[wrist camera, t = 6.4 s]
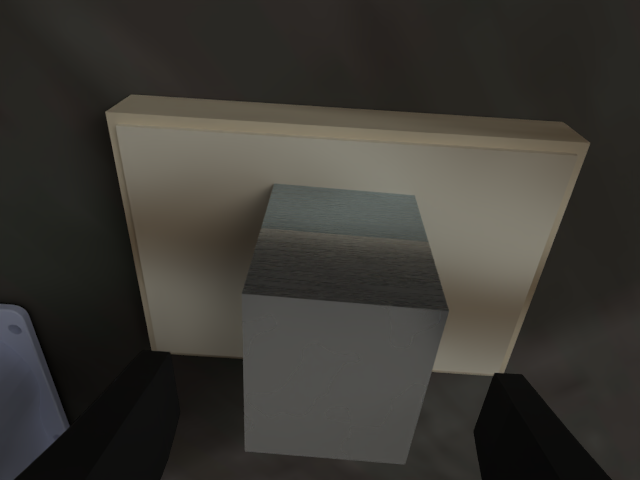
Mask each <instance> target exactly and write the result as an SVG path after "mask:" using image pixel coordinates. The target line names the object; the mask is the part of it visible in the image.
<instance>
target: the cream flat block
mask: <svg viewBox="0 0 640 480" xmlns="http://www.w3.org/2000/svg"><path fill="white" fill-rule="evenodd" d="M106 118H107V123H108V128H109V133H110V138H111V143H112V149H113V154H114V159H115V164H116V169H117V174H118V179H119V185H120V190H121V195H122V200H123V205H124V210H125V216H126V221H127V226H128V231H129V236H130V241H131V247H132V252H133V257H134V262H135V267H136V272H137V278H138V283H139V288H140V293H141V298H142V303H143V309H144V314H145V319H146V324H147V329H148V334H149V339H150V345H151V350H152V351H165V352H170V353H171V354H178V355H192V356H207V357H222V358H237V359H243V332H242V291H243V288H244V284H245V281H246V278H247V274H248V271H249V267H250V264H251V261H252V257H253V254H254V250H255V247H256V244H257V240H258V237H259V233H260V230H261V227H262V223H263V220H264V216H265V213H266V210H267V206H268V203H269V199H270V196H271V193H272V189H273V186H274V183H275V184H287V185H298V186H310V187H322V188H334V189H346V190H357V191H369V192H381V193H393V194H405V195H415V198H416V201H417V205H418V208H419V211H420V215H421V218H422V222H423V225H424V228H425V232H426V235H427V238H428V242H429V245H430V248H431V252H432V255H433V259H434V262H435V265H436V269H437V272H438V275H439V279H440V282H441V285H442V289H443V292H444V295H445V299H446V302H447V306H448V309H449V313H448V317H447V320H446V324H445V327H444V331H443V334H442V338H441V341H440V345H439V348H438V351H437V355H436V358H435V362H434V365H433V369H432V372H443V373H457V374H472V375H487V376H494V373H504V371H505V369H506V366H507V363H508V361H509V358H510V355H511V353H512V350H513V347H514V345H515V342H516V339H517V337H518V334H519V331H520V329H521V326H522V323H523V321H524V318H525V315H526V313H527V310H528V307H529V305H530V302H531V299H532V297H533V294H534V291H535V289H536V286H537V283H538V281H539V278H540V275H541V273H542V270H543V267H544V265H545V262H546V259H547V257H548V254H549V251H550V249H551V246H552V244H553V241H554V238H555V236H556V233H557V230H558V228H559V225H560V222H561V220H562V217H563V214H564V212H565V209H566V206H567V204H568V201H569V198H570V196H571V193H572V190H573V188H574V185H575V182H576V180H577V177H578V174H579V172H580V169H581V166H582V164H583V161H584V158H585V156H586V153H587V150H588V148H589V145H590V142H588V141H587V140H586V139H584V138H583V137H582V136H580V135H579V134H578V133H577V132H575V131H574V130H573V129H571V128H570V127H569V126H567V125H566V124H565V123H564V122H554V121H538V120H523V119H507V118H491V117H476V116H460V115H444V114H429V113H413V112H397V111H382V110H366V109H350V108H335V107H319V106H303V105H288V104H272V103H257V102H241V101H225V100H210V99H194V98H178V97H163V96H147V95H130V96H128V97H127V98H125V99H124V100H122V101H121V102H119V103H118V104H116V105H115V106H113V107H112V108H111V109H109V110H108V111H106Z"/></svg>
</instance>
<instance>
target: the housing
mask: <svg viewBox="0 0 640 480" xmlns="http://www.w3.org/2000/svg"><path fill="white" fill-rule="evenodd" d="M448 313H449V309H448V306H447V302H446V299H445V295H444V292H443V289H442V285H441V282H440V279H439V275H438V272H437V269H436V265H435V262H434V259H433V255H432V252H431V248H430V245H429V242H428V238H427V235H426V232H425V228H424V225H423V222H422V218H421V215H420V211H419V208H418V205H417V201H416V198H415V195H405V194H393V193H381V192H369V191H357V190H346V189H334V188H322V187H310V186H298V185H287V184H275V183H274V186H273V189H272V193H271V196H270V199H269V203H268V206H267V210H266V213H265V216H264V220H263V223H262V227H261V230H260V233H259V237H258V240H257V244H256V247H255V250H254V254H253V257H252V261H251V264H250V267H249V271H248V274H247V278H246V281H245V284H244V288H243V291H242V332H243V381H244V430H245V451H247V452H260V453H272V454H284V455H296V456H308V457H320V458H333V459H345V460H357V461H369V462H381V463H393V464H405V462H406V459H407V456H408V452H409V449H410V445H411V442H412V438H413V435H414V431H415V428H416V424H417V421H418V417H419V414H420V410H421V407H422V403H423V400H424V397H425V393H426V390H427V386H428V383H429V379H430V376H431V372H432V369H433V365H434V362H435V358H436V355H437V351H438V348H439V345H440V341H441V338H442V334H443V331H444V327H445V324H446V320H447V317H448Z"/></svg>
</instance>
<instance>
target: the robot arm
mask: <svg viewBox="0 0 640 480" xmlns="http://www.w3.org/2000/svg"><path fill="white" fill-rule="evenodd" d="M179 415H180V408H179V402H178V396H177V390H176V383H175V377H174V371H173V365H172V359H171V353H170V352H165V351H149V350H143V351H141V352H140V353H139V354H138V355H137V356H136V357H135V358H134V359H133V360H132V362H131V363H130V364H129V365H128V366H127V367H126V368H125V369H124V370H123V371H122V372H121V374H120V375H119V376H118V377H117V378H116V379H115V380H114V381H113V382H112V383H111V384H110V385H109V387H108V388H107V389H106V390H105V391H104V392H103V393H102V394H101V395H100V396H99V397H98V398H97V399H96V400H95V401H94V402H93V403H92V404H91V405H90V406H89V407H88V409H87V410H86V411H85V412H84V413H83V414H82V415H81V416H80V417H79V418H78V419H77V420H76V421H75V422H74V423H73V424H72V425H71V426H69V423H68V420H67V418H66V415H65V412H64V409H63V407H62V404H61V401H60V398H59V396H58V393H57V390H56V388H55V385H54V382H53V379H52V377H51V374H50V371H49V369H48V366H47V363H46V360H45V358H44V355H43V352H42V349H41V347H40V344H39V341H38V339H37V336H36V333H35V330H34V328H33V325H32V322H31V319H30V317H29V314H28V313H27V311H26V310H25V309H24V308H22V307H20V306H17V305H11V304H0V480H160V479H161V477H162V474H163V471H164V469H165V466H166V463H167V461H168V458H169V454H170V450H171V447H172V443H173V439H174V435H175V431H176V427H177V423H178V419H179ZM474 437H475V443H476V450H477V456H478V461H479V466H480V472H481V477H482V480H612V479H611V478H610V477H609V476H608V475H607V474H606V473H605V472H604V470H603V469H602V468H601V467H600V466H599V465H598V464H597V462H596V461H595V460H594V459H593V458H592V457H591V456H590V455H589V453H588V452H587V451H586V450H585V449H584V448H583V447H582V445H581V444H580V443H579V442H578V441H577V440H576V438H575V437H574V436H573V435H572V434H571V433H570V431H569V430H568V429H567V428H566V427H565V425H564V424H563V423H562V422H561V421H560V419H559V418H558V417H557V416H556V415H555V413H554V412H553V411H552V410H551V409H550V407H549V406H548V405H547V404H546V403H545V401H544V400H543V399H542V398H541V396H540V395H539V394H538V393H537V392H536V390H535V389H534V388H533V387H532V386H531V384H530V383H529V382H528V381H527V380H526V378H525V377H524V376H523V375H522V374H507V373H494V376H493V378H492V381H491V384H490V387H489V390H488V392H487V395H486V398H485V401H484V403H483V406H482V409H481V412H480V415H479V417H478V420H477V423H476V426H475V429H474Z"/></svg>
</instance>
